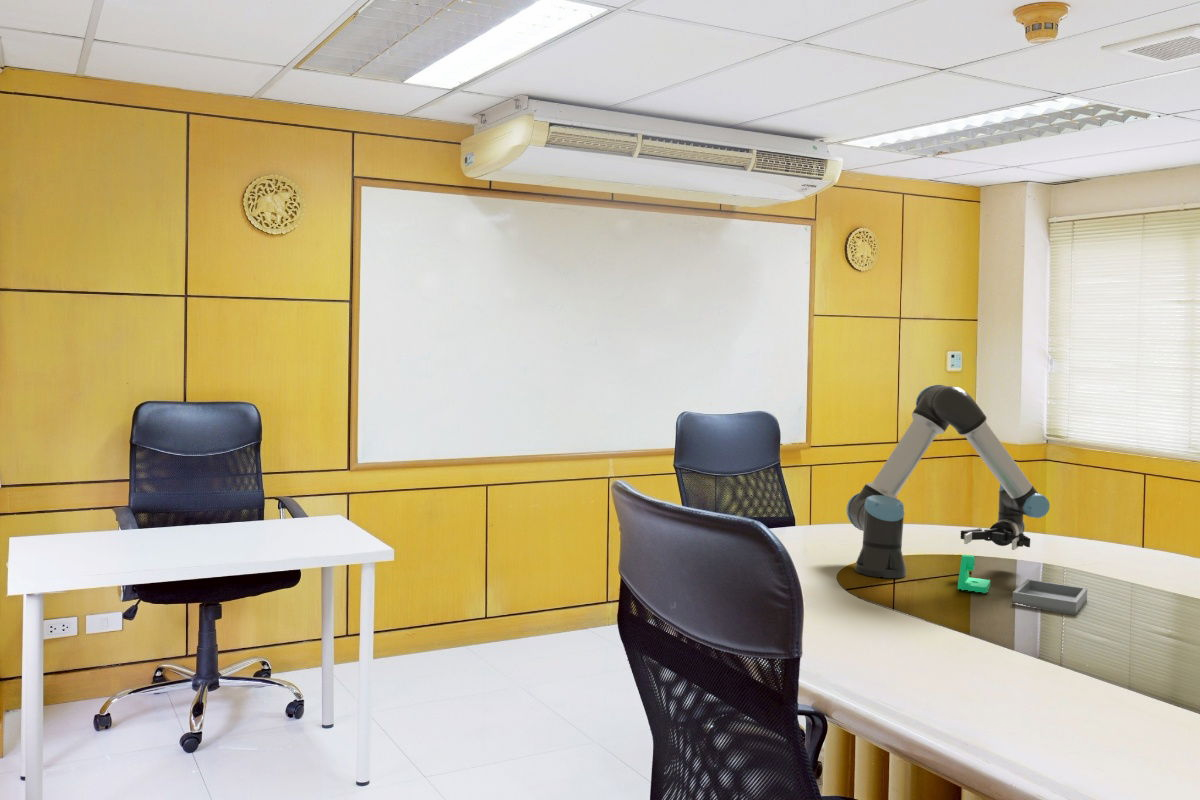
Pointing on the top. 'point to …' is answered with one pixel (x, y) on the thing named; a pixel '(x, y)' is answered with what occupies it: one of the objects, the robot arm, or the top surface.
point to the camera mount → (968, 582)
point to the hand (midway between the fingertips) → (989, 542)
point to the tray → (1051, 596)
